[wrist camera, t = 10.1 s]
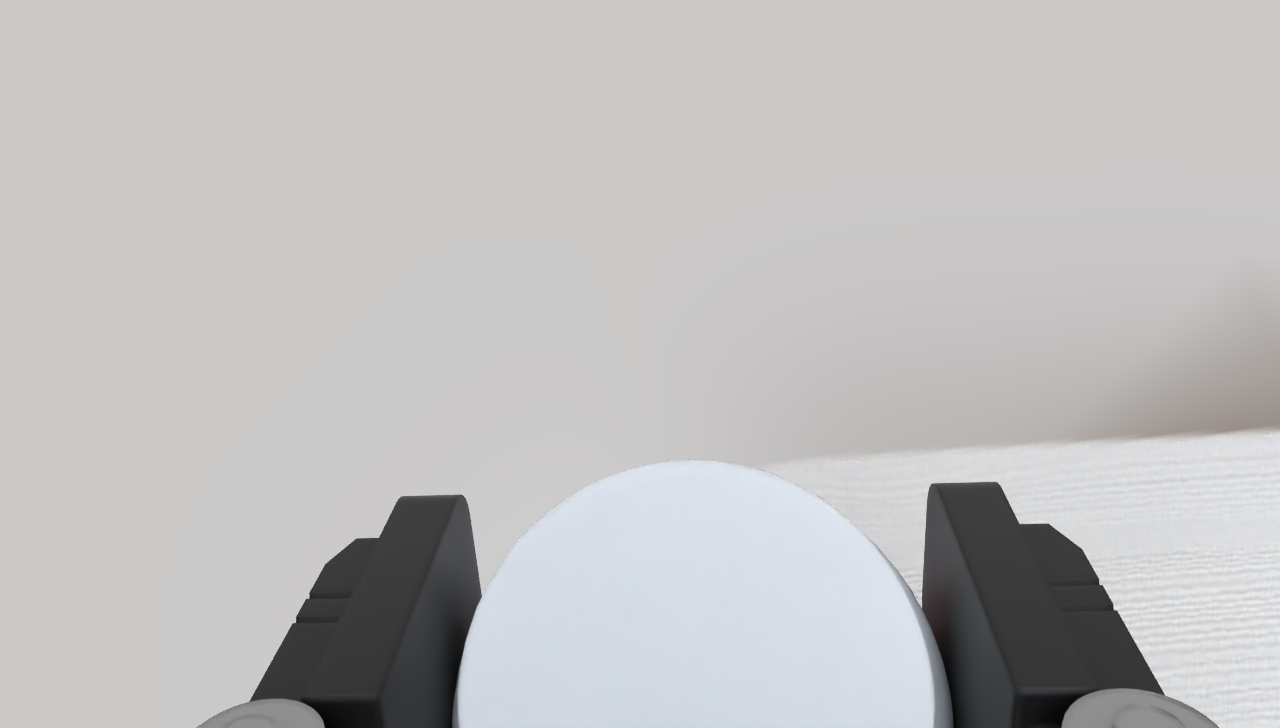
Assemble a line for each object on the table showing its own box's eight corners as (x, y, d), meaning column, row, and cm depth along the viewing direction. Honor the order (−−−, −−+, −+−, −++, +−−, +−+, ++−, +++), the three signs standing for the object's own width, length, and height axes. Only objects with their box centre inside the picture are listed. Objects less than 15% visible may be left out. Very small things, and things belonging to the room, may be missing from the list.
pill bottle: (913, 636, 18) (1095, 491, 9) (822, 975, 17) (934, 1209, 7) (614, 533, 19) (514, 311, 10) (499, 841, 18) (256, 903, 9)
